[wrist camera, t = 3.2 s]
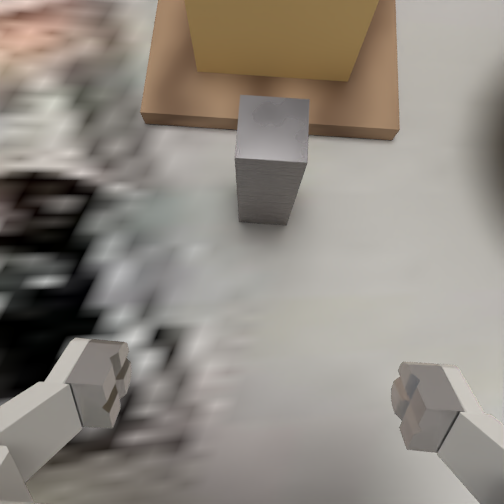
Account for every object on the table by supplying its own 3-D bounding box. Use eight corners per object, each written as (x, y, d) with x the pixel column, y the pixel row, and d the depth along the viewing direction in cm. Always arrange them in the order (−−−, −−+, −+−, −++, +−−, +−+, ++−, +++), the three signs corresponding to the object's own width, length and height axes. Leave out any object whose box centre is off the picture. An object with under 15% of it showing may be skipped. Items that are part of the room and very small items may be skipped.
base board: (145, 123, 30) (140, 112, 28) (178, -89, 35) (175, -107, 34) (392, 140, 30) (399, 129, 28) (386, -75, 35) (392, -93, 34)
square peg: (239, 221, 28) (234, 157, 18) (242, 178, 29) (240, 94, 19) (286, 225, 28) (307, 162, 18) (288, 181, 29) (309, 99, 19)
